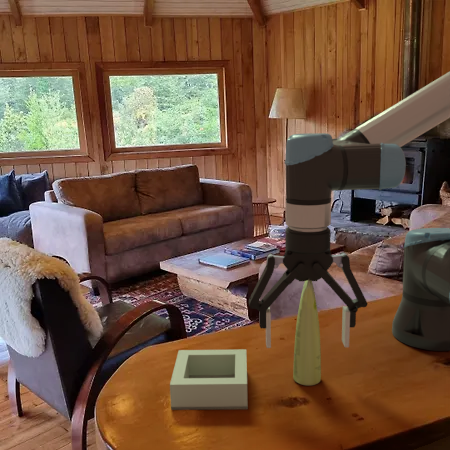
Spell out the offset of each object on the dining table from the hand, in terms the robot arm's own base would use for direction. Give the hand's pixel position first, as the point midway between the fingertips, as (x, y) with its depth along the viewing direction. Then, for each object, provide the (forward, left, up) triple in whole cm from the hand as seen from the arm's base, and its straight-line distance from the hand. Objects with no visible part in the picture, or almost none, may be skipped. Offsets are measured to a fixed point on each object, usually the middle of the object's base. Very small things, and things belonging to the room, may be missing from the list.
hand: (306, 344), depth 92 cm
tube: (0, 0, -7) cm, 7 cm away
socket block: (+17, +3, -7) cm, 18 cm away
